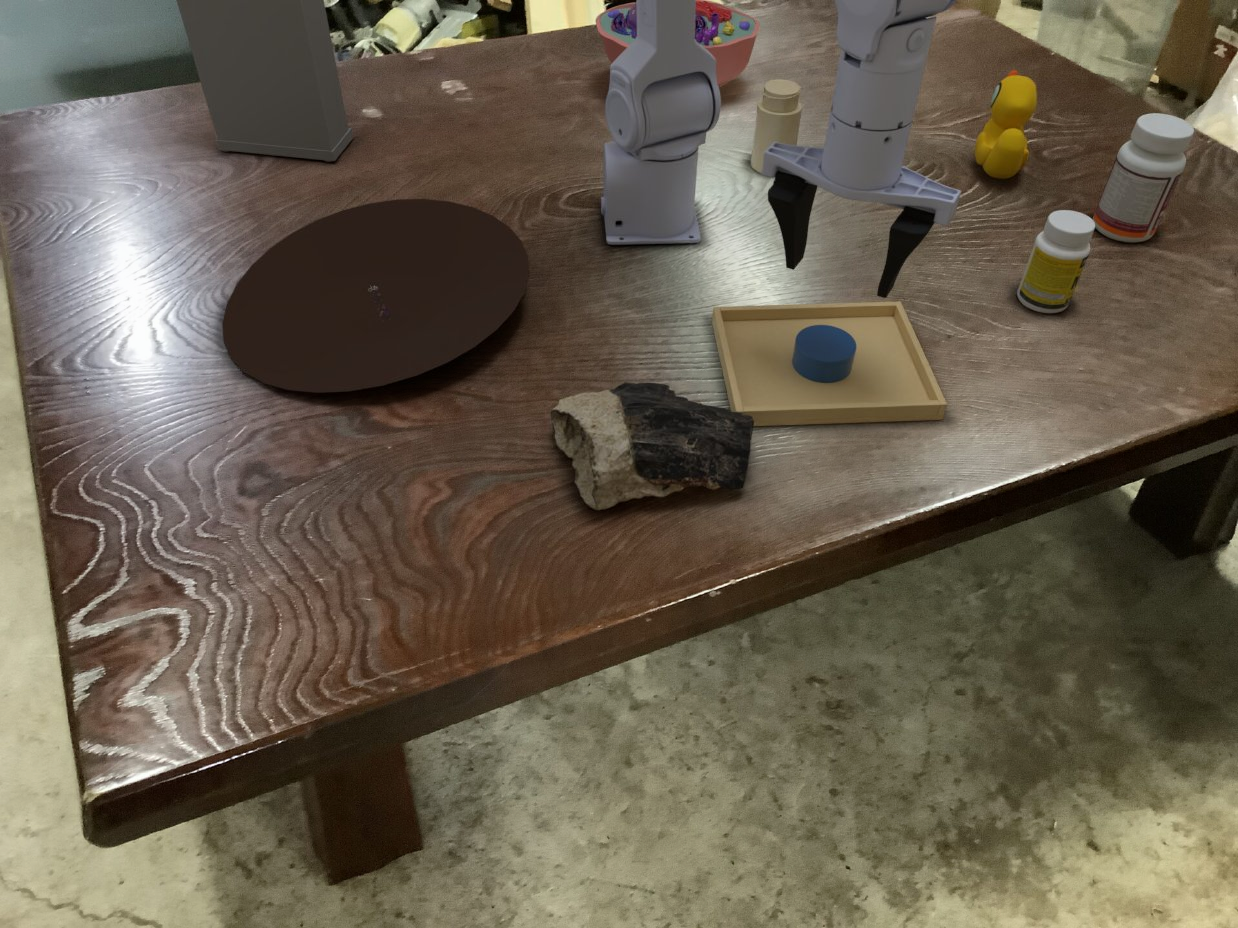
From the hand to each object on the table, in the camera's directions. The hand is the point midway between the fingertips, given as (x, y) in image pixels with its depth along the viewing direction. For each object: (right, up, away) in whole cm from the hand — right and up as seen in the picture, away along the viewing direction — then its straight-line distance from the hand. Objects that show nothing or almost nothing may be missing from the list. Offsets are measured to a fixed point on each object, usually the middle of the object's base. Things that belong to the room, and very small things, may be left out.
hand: (839, 276), depth 78 cm
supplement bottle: (+22, 0, +14) cm, 26 cm away
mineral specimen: (-14, -14, -1) cm, 20 cm away
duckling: (+25, +18, +32) cm, 44 cm away
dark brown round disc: (-40, 0, +13) cm, 42 cm away
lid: (0, -5, +5) cm, 7 cm away
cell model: (-10, +32, +46) cm, 57 cm away
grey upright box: (-56, +22, +34) cm, 69 cm away
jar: (0, +19, +32) cm, 37 cm away
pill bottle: (+35, +9, +23) cm, 43 cm away
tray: (0, -7, +7) cm, 9 cm away
